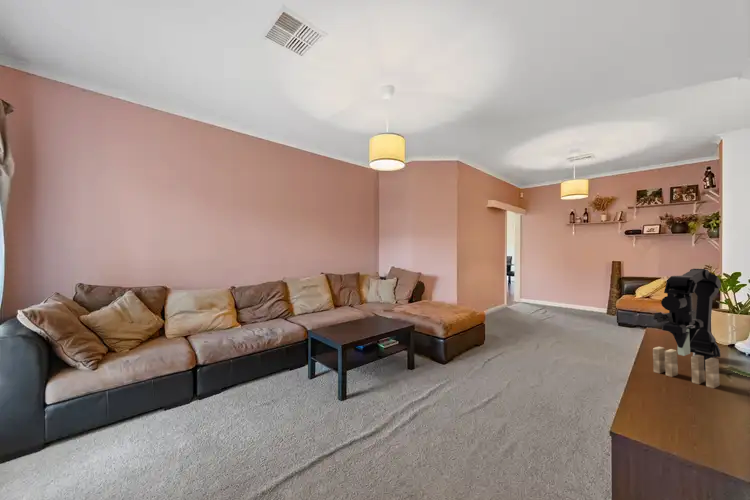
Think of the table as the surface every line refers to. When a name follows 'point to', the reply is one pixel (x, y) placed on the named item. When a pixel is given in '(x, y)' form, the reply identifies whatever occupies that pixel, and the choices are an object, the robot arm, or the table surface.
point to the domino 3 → (685, 346)
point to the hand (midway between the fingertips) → (683, 346)
